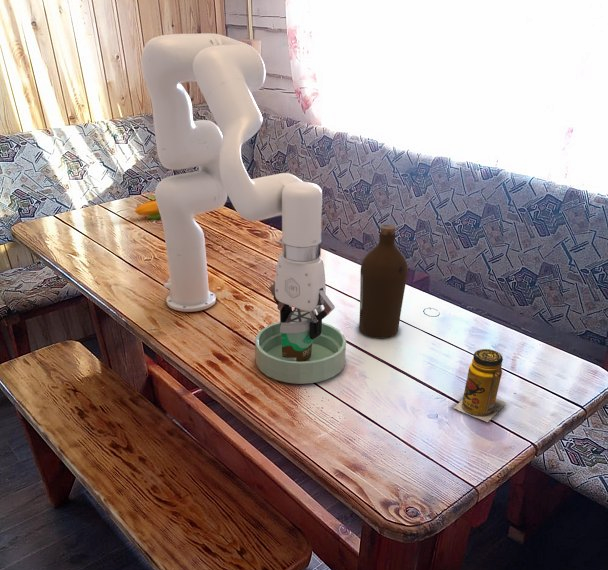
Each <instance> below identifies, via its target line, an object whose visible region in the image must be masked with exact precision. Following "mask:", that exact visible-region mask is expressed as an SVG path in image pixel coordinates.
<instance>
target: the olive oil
mask: <svg viewBox="0 0 608 570" xmlns="http://www.w3.org/2000/svg"><path fill="white" fill-rule="evenodd" d="M395 239H396V226H395V225H392V224H383V225H381V226H380V232H379V239H378V243H377V244H376V245H375V246H374V247H373V248H372V249H371V250H370V251H368V253H366V254H365V256H364V257H363V259H362V262H361V265H360V274H359V275H360V278H359V279H360V280H359V281H360V286H359V319H358V320H359V323H358V328H359V331H360V333H361V334H363V335H364V336H367V337H369V338H373V339H390V338H392V337H394V336H395V335H397V334H398V332H399V329H400V328H399V327H400V320H401V313H402V307H403V302H404V296H405V289H406V284H407V278H408V271H409V268H408V261H407V259H406V257H405V255H404V254H403V253H402V251H401V250H400V249H399V248H398V247H397V246H396V244H395Z"/></svg>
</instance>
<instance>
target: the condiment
mask: <svg viewBox="0 0 608 570" xmlns="http://www.w3.org/2000/svg"><path fill="white" fill-rule="evenodd" d="M472 357H473V358H472V360H471V363H470V364H469V366H468V372H467V377H466V381H465V387H464V391H463V396H462V399H461V401H459V402H458V403H457V404H456V405H455V406H453V409H455V410H457V411H459V412H461V413H463V414H466V415H468V416H471V417H473V418H475V419H478V420H481V421H484V422H486V423H489V421H491V420H492V419H493V418H494V417H495V416H496V415H497V414H498V413H499V412H500V410H502V408H504V407H505V405H506V404H507V402H506V401H502V400H499V399H497V396H498V392H499V387H500V383H501V378H502V375H503V369H502V367H503V364H502V363H503V360H504V358H503V355H502V354H501V353H500V352H498V351H496V350H494V349H490V348H482V349H478V350H476V351H475V352H474V353H473V356H472Z"/></svg>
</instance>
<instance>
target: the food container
mask: <svg viewBox="0 0 608 570" xmlns="http://www.w3.org/2000/svg"><path fill="white" fill-rule="evenodd" d="M311 321H312V318H311V316H310V313H309V312H308V311H304V310H301V309H298V308H295V307H294V308H293V309H292V312H291V313H290V314H289V316H288V318H287V320H286V321H285V323H281V326H280V333H281V341H282V359H283V360H287V361H297V362H304V361H307V360H308V359H310V357H311V352H312V343H313V340H312V339H310V322H311Z"/></svg>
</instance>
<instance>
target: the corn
mask: <svg viewBox="0 0 608 570" xmlns="http://www.w3.org/2000/svg"><path fill="white" fill-rule="evenodd" d="M148 200H149V201H146V202H144V203H142V204H140V205H138V206H137V207H136V209H134V212H135V214H137V215H138V216H147V219H149V220H158V219H161V215H160V212H159V209H158V206H157V202H156V198H155V195H154V196H151V197H148Z"/></svg>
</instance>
